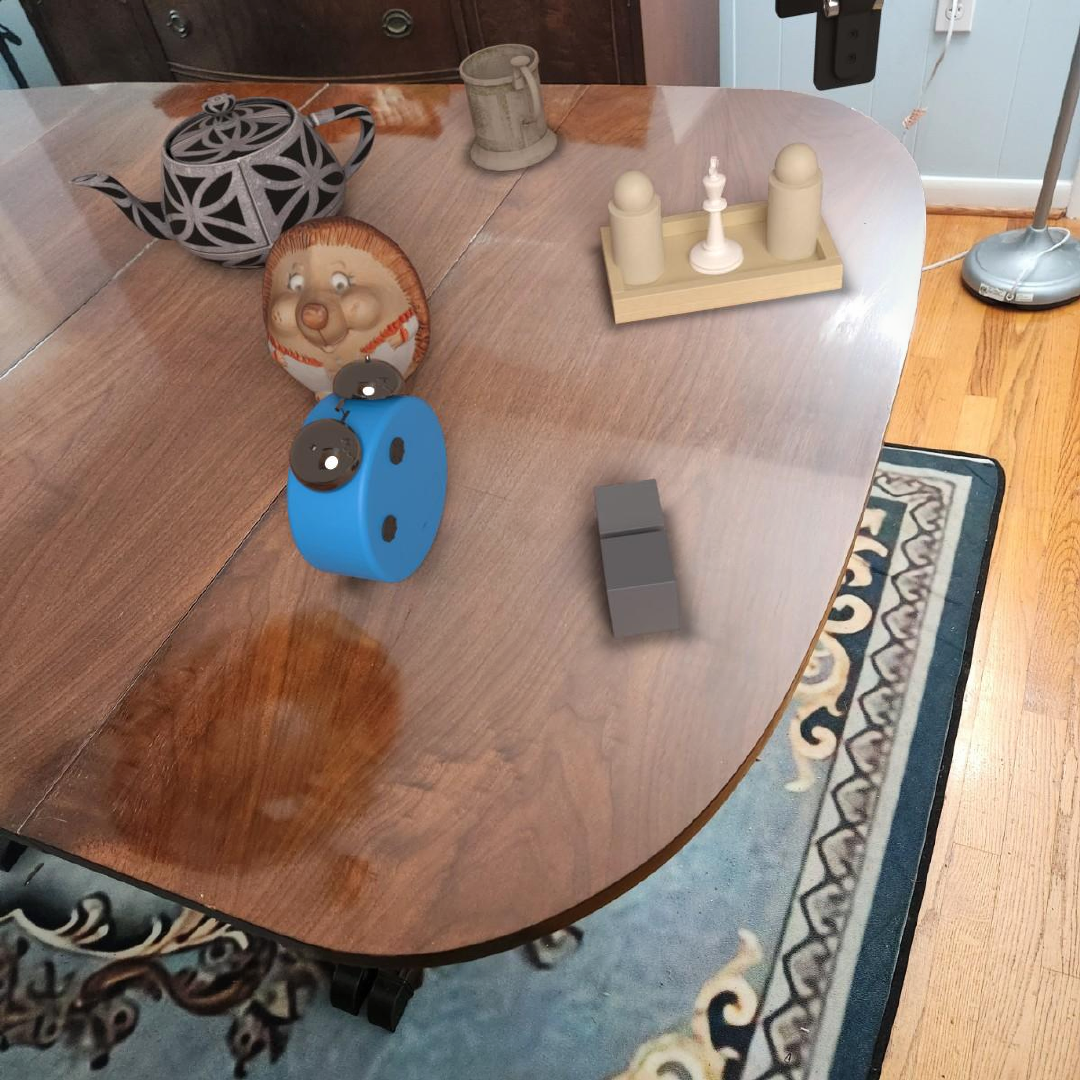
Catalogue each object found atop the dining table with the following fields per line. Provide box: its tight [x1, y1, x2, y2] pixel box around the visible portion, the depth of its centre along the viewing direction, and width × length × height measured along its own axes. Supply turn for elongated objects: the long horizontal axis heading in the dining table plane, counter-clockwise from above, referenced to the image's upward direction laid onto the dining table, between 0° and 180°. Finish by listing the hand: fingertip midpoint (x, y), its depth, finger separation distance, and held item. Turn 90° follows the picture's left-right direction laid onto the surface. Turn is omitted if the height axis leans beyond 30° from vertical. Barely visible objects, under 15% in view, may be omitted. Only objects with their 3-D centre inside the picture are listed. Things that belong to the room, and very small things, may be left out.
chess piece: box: [689, 155, 743, 275], centre depth 88 cm, size 5×5×10 cm
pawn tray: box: [599, 142, 845, 325], centre depth 89 cm, size 20×12×11 cm, turn 93°
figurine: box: [261, 215, 431, 403], centre depth 85 cm, size 14×16×15 cm
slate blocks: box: [593, 478, 680, 639], centre depth 69 cm, size 4×10×5 cm, turn 3°
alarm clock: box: [286, 355, 448, 584], centre depth 70 cm, size 13×6×15 cm, turn 162°
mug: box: [458, 43, 558, 172], centre depth 108 cm, size 14×10×12 cm
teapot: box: [68, 92, 376, 270], centre depth 103 cm, size 19×31×15 cm, turn 112°
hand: (821, 46), depth 58 cm, fingers open, 9 cm apart
